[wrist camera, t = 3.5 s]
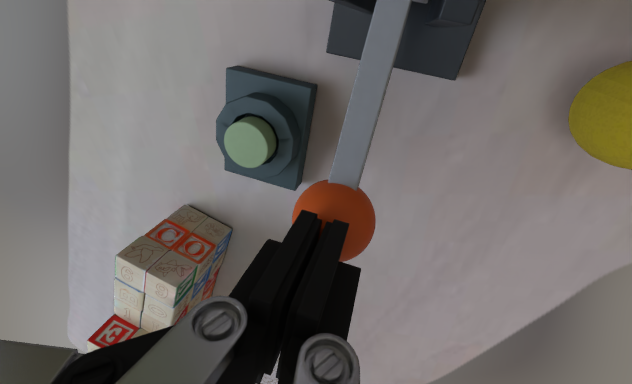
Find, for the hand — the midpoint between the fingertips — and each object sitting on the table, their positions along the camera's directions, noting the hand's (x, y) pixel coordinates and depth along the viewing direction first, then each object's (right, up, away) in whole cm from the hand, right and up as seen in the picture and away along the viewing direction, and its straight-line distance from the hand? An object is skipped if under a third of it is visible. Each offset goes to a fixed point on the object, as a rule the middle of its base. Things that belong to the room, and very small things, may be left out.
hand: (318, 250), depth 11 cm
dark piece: (-4, +8, +16) cm, 18 cm away
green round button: (-5, +6, +13) cm, 16 cm away
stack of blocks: (-16, -8, +29) cm, 34 cm away
